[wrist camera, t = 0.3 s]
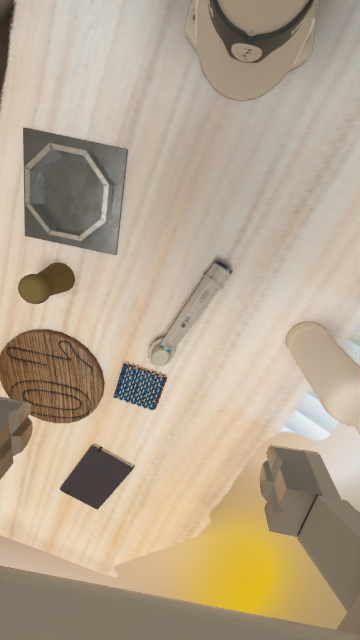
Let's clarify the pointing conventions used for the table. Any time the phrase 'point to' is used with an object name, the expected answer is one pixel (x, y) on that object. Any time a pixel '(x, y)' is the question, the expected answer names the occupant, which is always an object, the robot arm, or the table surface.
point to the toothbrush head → (189, 314)
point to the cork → (46, 283)
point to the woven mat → (140, 386)
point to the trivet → (52, 375)
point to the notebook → (96, 476)
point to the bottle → (327, 371)
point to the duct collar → (73, 190)
